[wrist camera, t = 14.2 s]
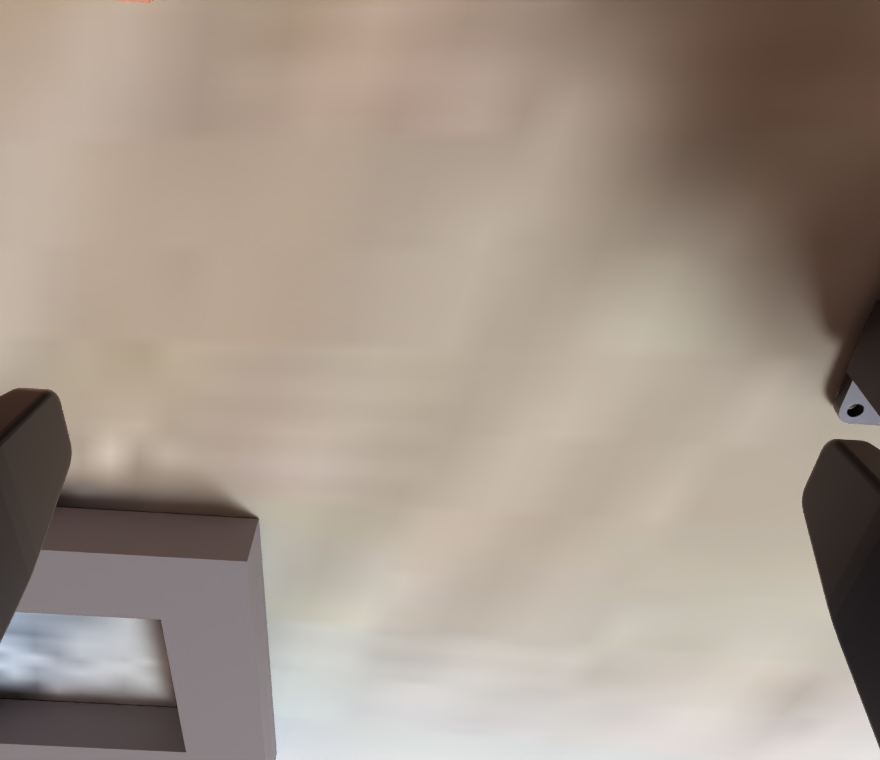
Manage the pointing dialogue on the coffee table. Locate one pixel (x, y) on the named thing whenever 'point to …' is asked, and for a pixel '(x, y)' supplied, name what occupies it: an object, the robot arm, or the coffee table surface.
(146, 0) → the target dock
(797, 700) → the coffee table surface
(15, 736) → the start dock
